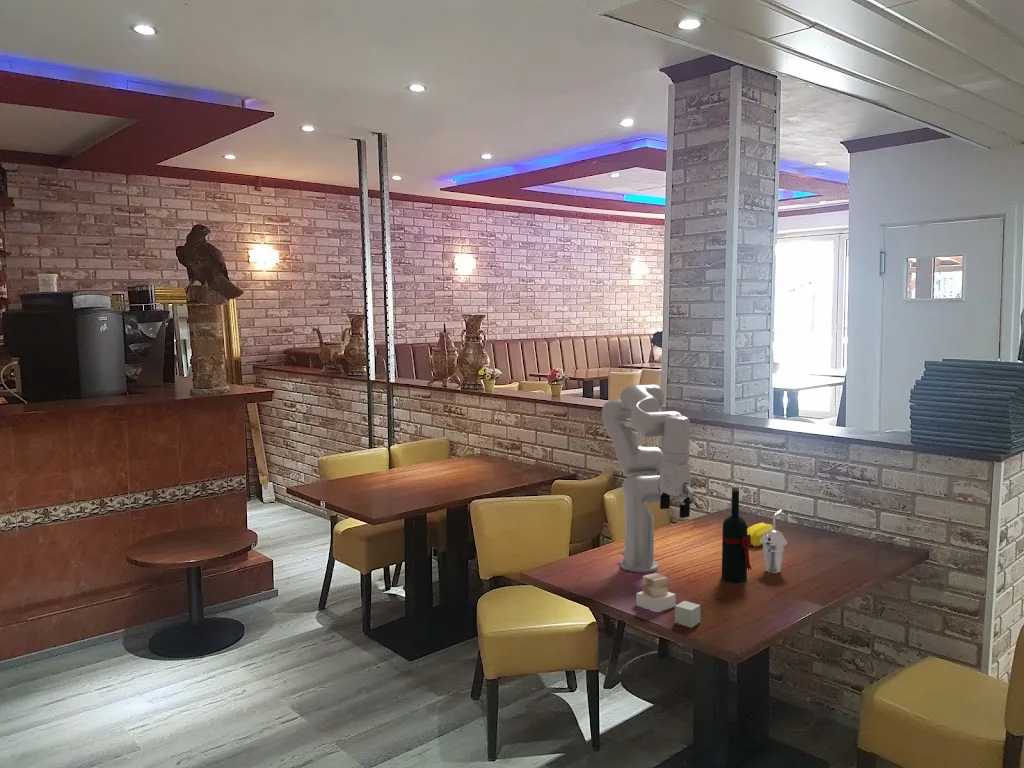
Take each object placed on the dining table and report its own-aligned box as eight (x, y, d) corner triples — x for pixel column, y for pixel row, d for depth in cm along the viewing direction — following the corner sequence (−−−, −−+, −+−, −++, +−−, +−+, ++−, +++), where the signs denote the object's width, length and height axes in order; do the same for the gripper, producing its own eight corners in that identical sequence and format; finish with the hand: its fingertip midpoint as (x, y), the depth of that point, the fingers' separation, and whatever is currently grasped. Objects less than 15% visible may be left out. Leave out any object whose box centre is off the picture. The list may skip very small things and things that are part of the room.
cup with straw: (754, 567, 250) (755, 509, 248) (778, 565, 252) (779, 507, 250) (769, 576, 241) (770, 515, 240) (793, 573, 244) (794, 513, 242)
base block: (636, 606, 218) (636, 593, 218) (654, 599, 223) (654, 586, 223) (657, 614, 212) (657, 600, 212) (675, 607, 217) (675, 594, 217)
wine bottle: (742, 587, 232) (743, 492, 229) (716, 578, 240) (717, 486, 238) (758, 582, 236) (759, 489, 234) (732, 573, 245) (733, 483, 242)
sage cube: (674, 623, 205) (675, 605, 205) (684, 617, 209) (684, 600, 208) (691, 628, 202) (691, 610, 201) (700, 622, 205) (700, 605, 205)
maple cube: (642, 592, 218) (642, 576, 218) (655, 589, 221) (655, 573, 220) (654, 597, 214) (654, 581, 213) (667, 594, 216) (667, 577, 216)
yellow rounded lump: (736, 545, 275) (756, 550, 269) (737, 528, 274) (756, 532, 269) (760, 535, 287) (779, 539, 282) (760, 518, 287) (779, 522, 281)
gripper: (648, 452, 228) (647, 506, 230) (683, 464, 212) (681, 522, 214) (669, 450, 231) (667, 503, 233) (704, 461, 215) (702, 519, 218)
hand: (674, 512), depth 224 cm, fingers open, 9 cm apart
